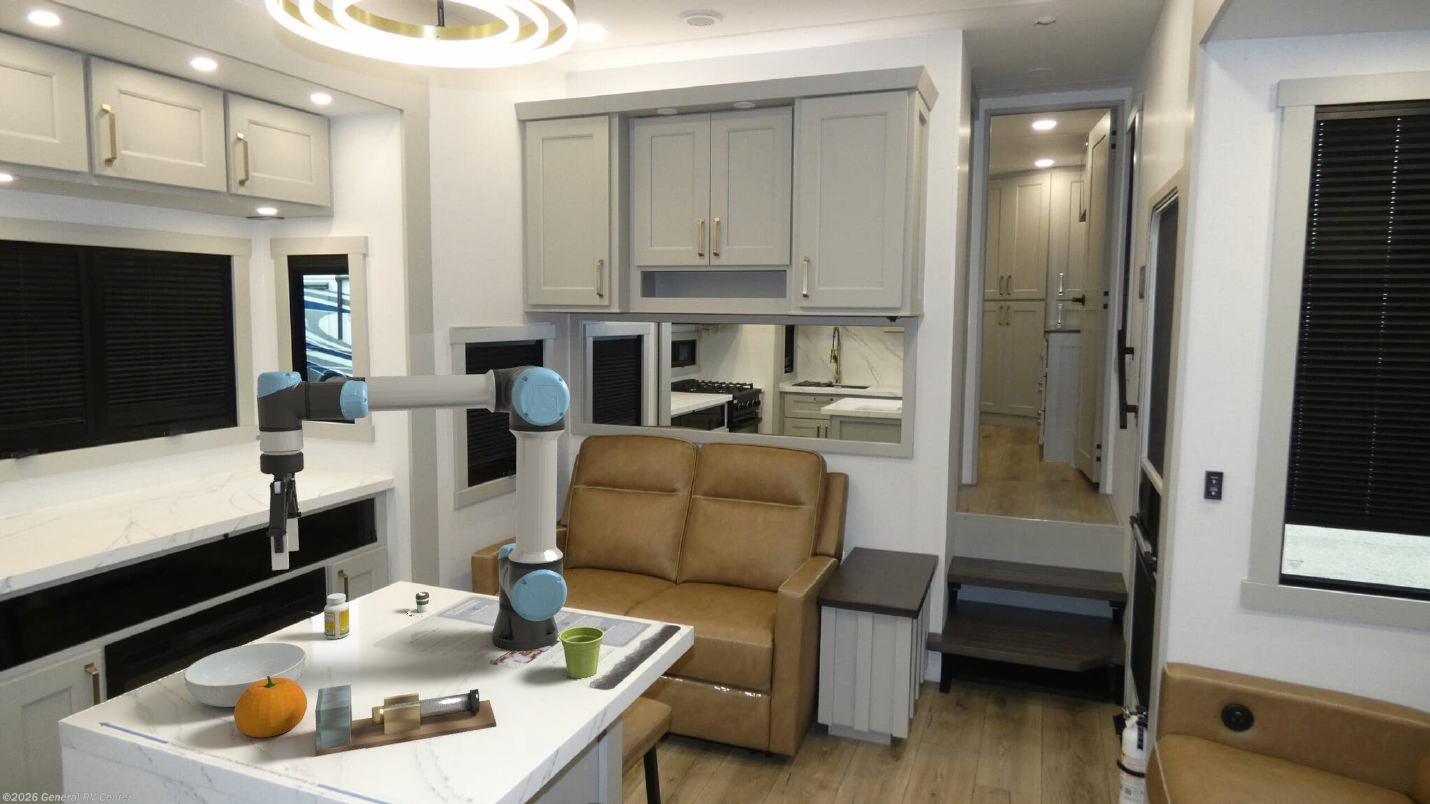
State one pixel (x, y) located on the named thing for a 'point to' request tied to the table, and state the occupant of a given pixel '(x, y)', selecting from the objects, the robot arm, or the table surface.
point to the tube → (435, 706)
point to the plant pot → (581, 650)
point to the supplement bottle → (336, 616)
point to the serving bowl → (241, 671)
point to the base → (385, 722)
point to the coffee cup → (422, 602)
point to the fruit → (270, 707)
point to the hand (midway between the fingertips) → (286, 559)
